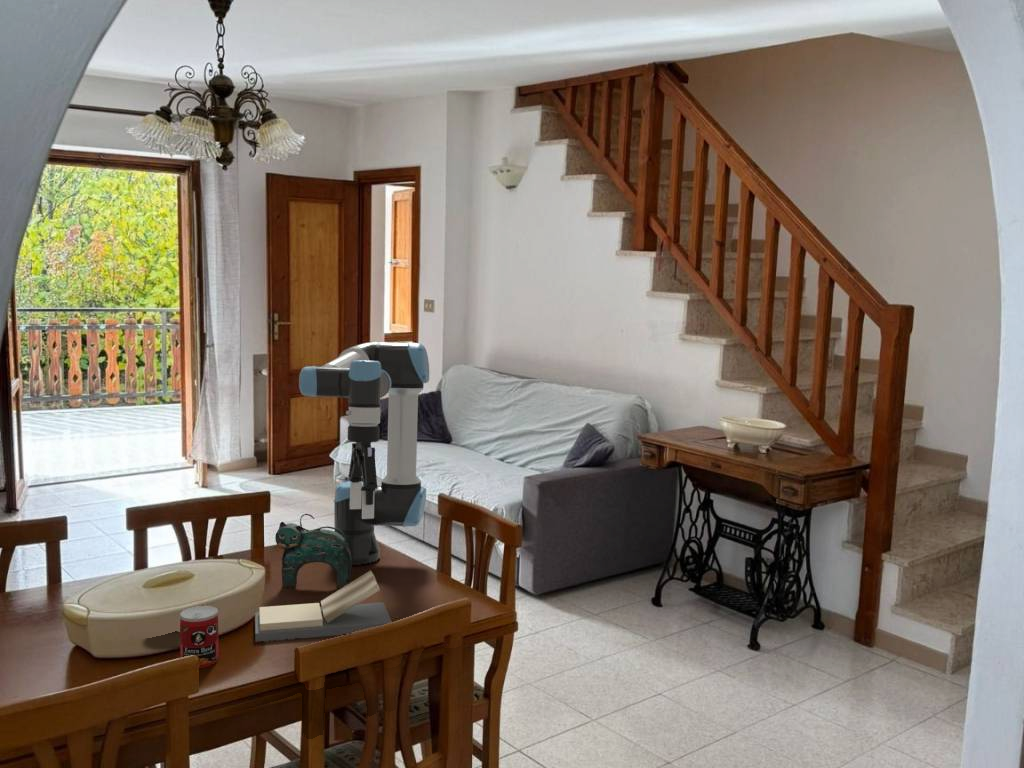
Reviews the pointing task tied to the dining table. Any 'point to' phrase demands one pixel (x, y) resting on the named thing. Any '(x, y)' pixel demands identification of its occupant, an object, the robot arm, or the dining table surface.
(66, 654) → the dining table surface
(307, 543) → the ceramic cat
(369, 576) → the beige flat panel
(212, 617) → the canned food
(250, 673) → the dining table surface
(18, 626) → the dining table surface
